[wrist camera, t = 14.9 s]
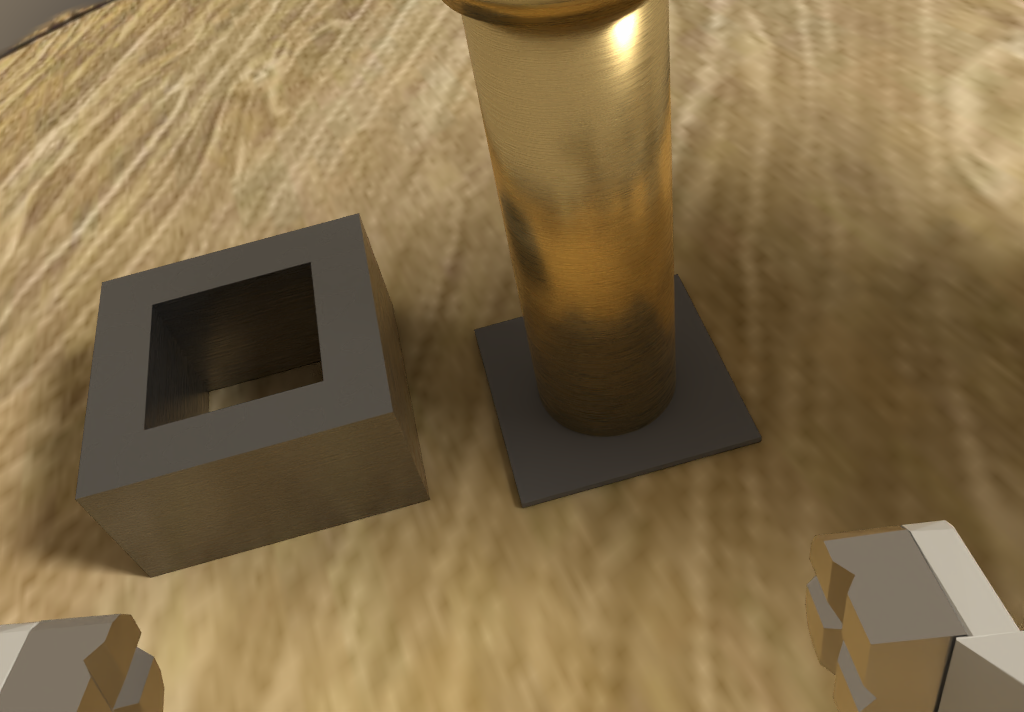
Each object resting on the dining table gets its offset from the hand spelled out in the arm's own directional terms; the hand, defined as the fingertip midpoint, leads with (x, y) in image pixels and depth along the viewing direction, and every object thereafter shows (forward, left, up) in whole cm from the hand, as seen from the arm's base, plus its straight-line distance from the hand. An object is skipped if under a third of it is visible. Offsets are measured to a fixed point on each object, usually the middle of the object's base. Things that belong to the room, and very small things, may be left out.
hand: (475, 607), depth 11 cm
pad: (-6, -20, -21) cm, 30 cm away
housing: (+9, -22, -21) cm, 32 cm away
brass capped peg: (-6, -20, -21) cm, 29 cm away
